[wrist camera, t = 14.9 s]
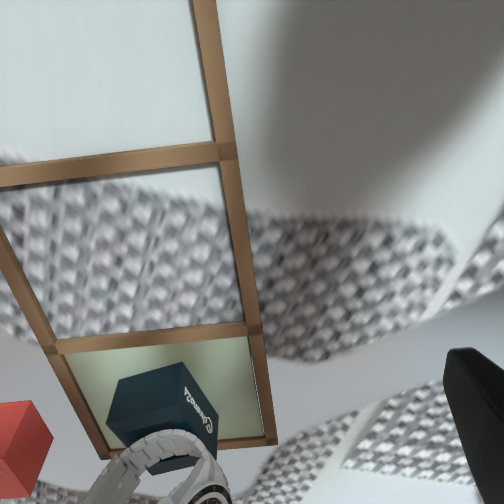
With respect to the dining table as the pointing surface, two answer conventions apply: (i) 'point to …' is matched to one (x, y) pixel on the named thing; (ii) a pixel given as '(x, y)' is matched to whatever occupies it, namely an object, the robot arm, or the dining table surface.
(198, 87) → the dining table surface
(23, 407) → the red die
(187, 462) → the watch
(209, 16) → the brown flat frame
